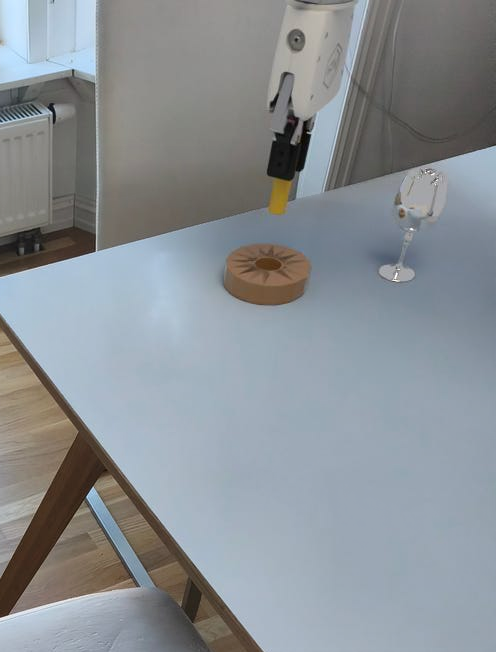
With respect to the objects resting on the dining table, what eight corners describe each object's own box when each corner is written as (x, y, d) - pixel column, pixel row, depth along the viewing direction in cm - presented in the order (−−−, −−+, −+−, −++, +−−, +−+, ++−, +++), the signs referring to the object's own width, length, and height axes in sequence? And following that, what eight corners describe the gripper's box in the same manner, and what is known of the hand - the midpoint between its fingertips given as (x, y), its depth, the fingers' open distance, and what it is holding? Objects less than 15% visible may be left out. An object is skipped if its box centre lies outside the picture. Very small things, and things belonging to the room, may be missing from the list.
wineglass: (418, 287, 111) (452, 189, 101) (371, 280, 112) (400, 183, 103) (421, 265, 114) (454, 168, 105) (375, 259, 116) (404, 163, 106)
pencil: (284, 207, 106) (303, 117, 98) (286, 215, 105) (305, 124, 97) (267, 206, 106) (284, 117, 99) (269, 214, 105) (286, 124, 97)
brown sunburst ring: (301, 263, 115) (305, 243, 113) (310, 305, 109) (315, 286, 107) (221, 262, 116) (223, 243, 114) (225, 304, 110) (229, 284, 108)
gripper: (328, 10, 82) (286, 208, 97) (389, -34, 90) (342, 155, 105) (254, -2, 85) (224, 192, 100) (319, -44, 93) (283, 141, 108)
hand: (285, 171), depth 102 cm, fingers closed on pencil, 2 cm apart
